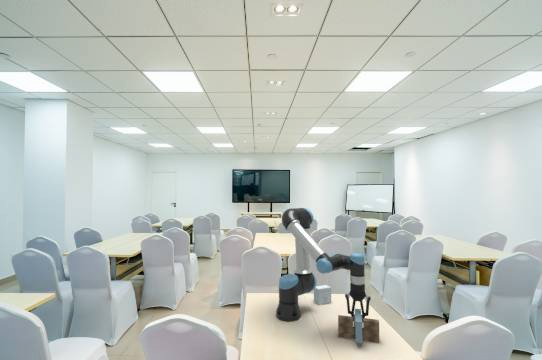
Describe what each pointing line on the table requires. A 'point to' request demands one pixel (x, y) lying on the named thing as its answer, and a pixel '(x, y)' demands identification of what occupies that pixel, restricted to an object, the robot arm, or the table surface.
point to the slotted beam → (348, 331)
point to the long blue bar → (358, 325)
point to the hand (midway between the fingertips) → (358, 327)
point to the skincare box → (322, 294)
